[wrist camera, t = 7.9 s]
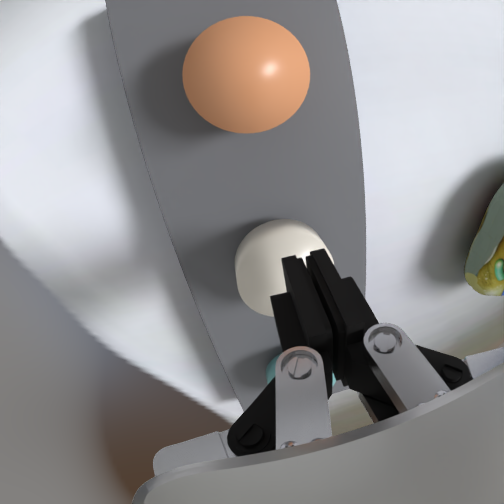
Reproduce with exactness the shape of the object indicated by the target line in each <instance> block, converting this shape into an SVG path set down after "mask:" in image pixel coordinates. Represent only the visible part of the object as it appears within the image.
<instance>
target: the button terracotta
mask: <svg viewBox="0 0 504 504" xmlns="http://www.w3.org/2000/svg"><path fill="white" fill-rule="evenodd" d="M182 77H183V85H184V90H185V93H186V96H187V98H188V100H189V102H190V103H191V105H192V106H193V108H194V109H195V110H196V111H197V113H198V114H199V115H200V116H201V117H203V118H204V119H205V120H206V121H208V122H209V123H211V124H212V125H214V126H216V127H218V128H220V129H223V130H226V131H230V132H235V133H258V132H263V131H266V130H269V129H272V128H275V127H277V126H278V125H280V124H282V123H284V122H285V121H286V120H288V119H289V118H290V117H291V116H292V115H293V114H294V113H295V112H296V111H297V110H298V109H299V107H300V106H301V104H302V103H303V101H304V99H305V97H306V94H307V91H308V88H309V83H310V67H309V62H308V58H307V55H306V53H305V51H304V49H303V47H302V45H301V44H300V42H299V41H298V40H297V39H296V37H295V36H294V35H293V34H292V33H291V32H289V31H288V30H287V29H285V28H284V27H283V26H281V25H279V24H277V23H275V22H273V21H271V20H268V19H264V18H261V17H254V16H239V17H232V18H228V19H225V20H222V21H219V22H217V23H215V24H213V25H211V26H210V27H208V28H207V29H206V30H204V31H203V32H202V33H201V34H200V35H199V36H198V37H197V38H196V39H195V40H194V42H193V43H192V45H191V46H190V48H189V50H188V52H187V54H186V57H185V60H184V64H183V71H182Z"/></svg>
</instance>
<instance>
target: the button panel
mask: <svg viewBox="0 0 504 504" xmlns="http://www.w3.org/2000/svg"><path fill="white" fill-rule="evenodd" d="M105 1H106V7H107V12H108V18H109V23H110V28H111V33H112V37H113V42H114V47H115V51H116V55H117V60H118V64H119V68H120V73H121V77H122V81H123V85H124V89H125V93H126V96H127V100H128V104H129V108H130V111H131V115H132V119H133V122H134V126H135V129H136V133H137V136H138V140H139V143H140V146H141V150H142V153H143V156H144V160H145V163H146V166H147V169H148V172H149V176H150V179H151V182H152V185H153V188H154V191H155V194H156V197H157V200H158V203H159V206H160V209H161V212H162V215H163V218H164V221H165V223H166V226H167V229H168V232H169V235H170V237H171V240H172V243H173V246H174V248H175V251H176V254H177V257H178V259H179V262H180V265H181V267H182V270H183V272H184V275H185V278H186V280H187V283H188V285H189V288H190V290H191V293H192V295H193V298H194V300H195V303H196V305H197V308H198V310H199V313H200V315H201V317H202V320H203V322H204V325H205V327H206V329H207V332H208V334H209V336H210V339H211V341H212V343H213V346H214V348H215V350H216V352H217V355H218V357H219V359H220V361H221V364H222V366H223V368H224V370H225V373H226V375H227V377H228V379H229V381H230V383H231V386H232V388H233V390H234V392H235V394H236V396H237V398H238V400H239V402H240V404H241V407H242V409H243V411H244V412H245V411H246V409H247V408H248V407H249V406H250V405H251V404H252V403H253V401H254V400H255V399H256V398H257V397H258V396H259V394H260V393H261V392H262V391H263V390H264V389H265V387H266V386H267V385H268V384H267V379H266V368H267V366H268V364H269V363H270V362H271V360H272V359H274V358H275V357H276V356H277V355H279V354H281V353H282V348H281V344H280V340H279V336H278V331H277V327H276V323H275V318H274V317H272V316H266V315H263V314H260V313H258V312H256V311H254V310H252V309H251V308H250V307H249V306H247V305H246V304H245V302H244V301H243V300H242V298H241V296H240V294H239V291H238V286H237V280H236V272H235V255H236V251H237V249H238V247H239V245H240V243H241V241H242V240H243V239H244V238H245V236H246V235H247V234H248V233H249V232H251V231H252V230H253V229H254V228H256V227H258V226H259V225H261V224H264V223H266V222H269V221H272V220H278V219H292V220H297V221H300V222H303V223H305V224H307V225H308V226H310V227H311V228H312V229H313V230H314V231H315V232H316V233H317V234H318V235H319V237H320V238H321V240H322V241H323V243H324V244H325V246H326V247H327V249H328V250H329V252H330V254H331V256H332V258H333V261H334V266H335V268H336V270H337V271H338V273H339V275H340V277H341V279H342V278H346V277H350V276H351V277H352V278H353V279H354V281H355V282H356V284H357V286H358V288H359V289H360V291H361V293H362V294H363V296H364V298H365V286H366V215H365V191H364V174H363V161H362V149H361V139H360V129H359V120H358V112H357V105H356V97H355V91H354V84H353V78H352V72H351V66H350V60H349V55H348V50H347V45H346V40H345V35H344V30H343V26H342V21H341V17H340V13H339V9H338V5H337V1H336V0H105ZM239 16H254V17H261V18H264V19H268V20H271V21H273V22H275V23H277V24H279V25H281V26H283V27H284V28H285V29H287V30H288V31H289V32H291V33H292V34H293V35H294V36H295V37H296V39H297V40H298V41H299V42H300V44H301V45H302V47H303V49H304V51H305V53H306V55H307V58H308V62H309V67H310V83H309V88H308V91H307V94H306V97H305V99H304V101H303V103H302V104H301V106H300V107H299V109H298V110H297V111H296V112H295V113H294V114H293V115H292V116H291V117H290V118H289V119H288V120H286V121H285V122H284V123H282V124H280V125H278V126H277V127H275V128H272V129H269V130H266V131H263V132H258V133H235V132H230V131H226V130H223V129H220V128H218V127H216V126H214V125H212V124H211V123H209V122H208V121H206V120H205V119H204V118H203V117H201V116H200V115H199V114H198V113H197V111H196V110H195V109H194V108H193V106H192V105H191V103H190V102H189V100H188V98H187V96H186V93H185V90H184V85H183V77H182V71H183V64H184V60H185V57H186V54H187V52H188V50H189V48H190V46H191V45H192V43H193V42H194V40H195V39H196V38H197V37H198V36H199V35H200V34H201V33H202V32H203V31H204V30H206V29H207V28H208V27H210V26H211V25H213V24H215V23H217V22H219V21H222V20H225V19H228V18H232V17H239ZM346 389H349V386H345V387H343V384H342V381H341V380H338V381H336V382H335V384H334V386H333V387H332V394H333V393H336V392H340V391H343V390H346Z"/></svg>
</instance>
